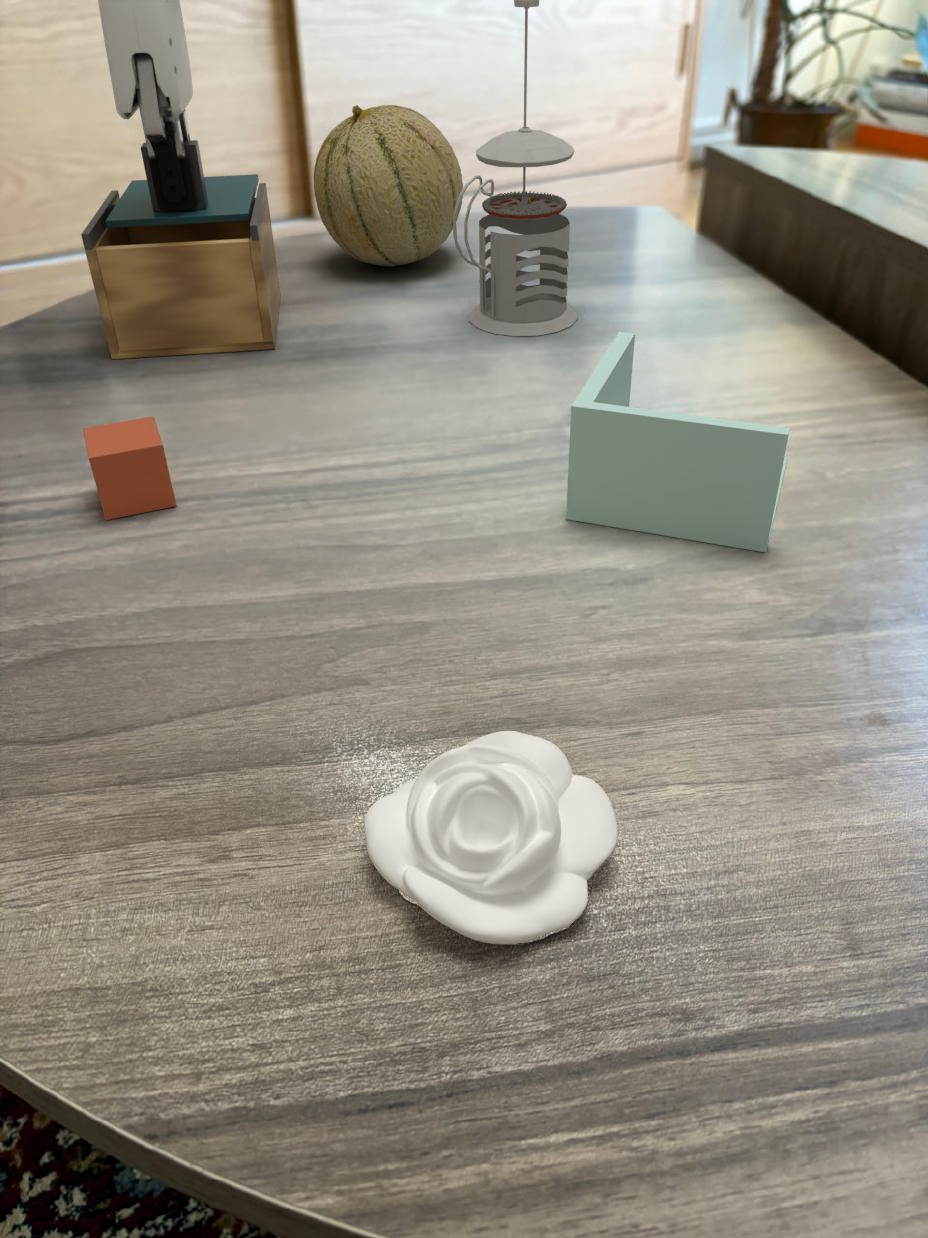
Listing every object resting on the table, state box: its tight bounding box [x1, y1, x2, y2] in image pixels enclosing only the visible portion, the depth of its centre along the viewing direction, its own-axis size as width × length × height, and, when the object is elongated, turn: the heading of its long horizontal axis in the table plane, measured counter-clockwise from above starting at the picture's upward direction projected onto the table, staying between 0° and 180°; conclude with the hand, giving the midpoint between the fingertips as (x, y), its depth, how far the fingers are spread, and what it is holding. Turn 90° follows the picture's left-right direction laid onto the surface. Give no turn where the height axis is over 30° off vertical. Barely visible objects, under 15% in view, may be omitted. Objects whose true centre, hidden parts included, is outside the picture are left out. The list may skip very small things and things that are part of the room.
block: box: [83, 415, 177, 521], centre depth 63 cm, size 4×4×4 cm
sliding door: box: [105, 139, 260, 228], centre depth 86 cm, size 12×14×6 cm
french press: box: [452, 0, 578, 337], centre depth 82 cm, size 10×12×25 cm
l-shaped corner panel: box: [565, 331, 791, 553], centre depth 62 cm, size 12×12×8 cm
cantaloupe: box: [313, 104, 464, 267], centre depth 98 cm, size 15×15×15 cm
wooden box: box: [80, 182, 282, 360], centre depth 86 cm, size 14×14×10 cm
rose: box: [363, 730, 618, 945], centre depth 39 cm, size 10×4×10 cm
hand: (180, 202), depth 84 cm, fingers closed on sliding door, 2 cm apart
